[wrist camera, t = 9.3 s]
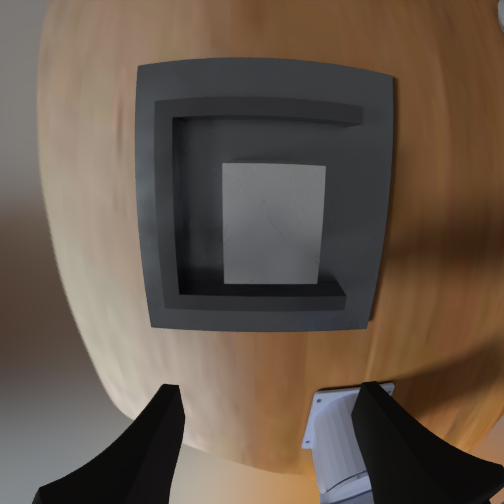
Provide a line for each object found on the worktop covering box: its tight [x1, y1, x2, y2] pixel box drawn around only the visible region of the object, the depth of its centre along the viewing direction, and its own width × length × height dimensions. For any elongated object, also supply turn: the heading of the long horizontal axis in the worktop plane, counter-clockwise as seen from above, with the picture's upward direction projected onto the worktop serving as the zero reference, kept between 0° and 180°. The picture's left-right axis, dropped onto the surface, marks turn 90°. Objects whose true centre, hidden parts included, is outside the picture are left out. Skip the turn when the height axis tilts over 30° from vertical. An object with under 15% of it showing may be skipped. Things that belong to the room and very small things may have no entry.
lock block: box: [222, 160, 326, 284], centre depth 15 cm, size 5×4×6 cm
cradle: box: [135, 58, 393, 332], centre depth 17 cm, size 18×16×3 cm
